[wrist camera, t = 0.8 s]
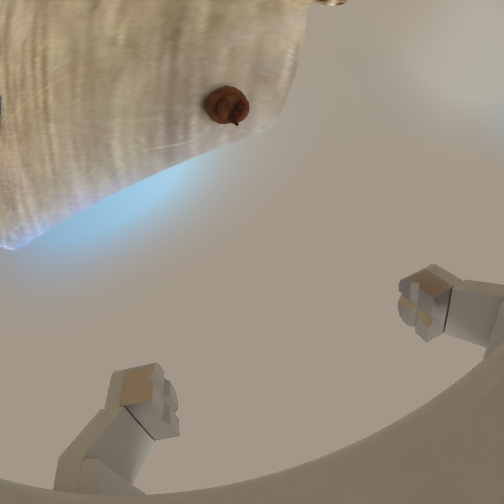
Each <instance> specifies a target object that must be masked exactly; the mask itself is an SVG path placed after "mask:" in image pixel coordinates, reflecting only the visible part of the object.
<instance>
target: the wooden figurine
mask: <svg viewBox="0 0 504 504" xmlns="http://www.w3.org/2000/svg"><path fill="white" fill-rule="evenodd" d="M205 110H206V112H207V114H208V115H209V117H210V118H211V119H212V120H213V121H215V122H217V123H219V124H227V123H233V124H235V125H236V126H238V125H239V124H238V122H240V121H242V120H244V119H245V117H246V116H247V115H248V113H249V102H248V101H247V99H246V97H245V96H244V94H243V93H242V92H241V91H240V90H238V89H236V88H235V87H229V86H225V87H223V88H220V89H218V90H217V91H215V92H214V93H212V94H211V95H210V96H209V97H208V99H207V100H206V101H205Z"/></svg>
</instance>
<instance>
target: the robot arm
mask: <svg viewBox="0 0 504 504" xmlns="http://www.w3.org/2000/svg"><path fill="white" fill-rule="evenodd" d="M399 291H400V293H401V294H402V295H401V297H400V299H399V301H398V311H399V314H400V317H401V318H402V320H403V321H404V322H405V323H406V324H407V325H410V326H414V327H415V332H416V333H417V334H418V335H419V336H420V337H421V338H422V339H423V340H425V341H426V342H428V341H430V340H432V339H433V338H435V337H437V336H438V335H440V334H442V333H443V332H444V334H447V335H450V336H453V337H456V338H459V339H462V340H465V341H468V342H471V343H474V344H477V345H480V346H483V347H486V351H485V354H484V356H483V361H482V362H481V363H479V364H478V365H477V366H476V367H475V368H473V369H472V370H471V371H470V372H468V373H467V374H466V375H465V376H463V377H462V378H461V379H459V380H458V381H457V382H455V383H454V384H453V385H452V386H450V387H449V388H447V389H446V390H445V391H443V392H442V393H440V394H439V395H437V396H436V397H435V398H433V399H432V400H430V401H429V402H427V403H426V404H424V405H422V406H421V407H419V408H418V409H416V410H415V411H413V412H411V413H410V414H408V415H407V416H405V417H403V418H401V419H399V420H398V421H396V422H394V423H393V424H391V425H389V426H387V427H385V428H383V429H381V430H380V431H378V432H376V433H374V434H372V435H370V436H368V437H366V438H364V439H362V440H360V441H358V442H355V443H353V444H351V445H349V446H347V447H344V448H342V449H340V450H337V451H335V452H333V453H330V454H328V455H325V456H323V457H320V458H318V459H315V460H313V461H310V462H307V463H304V464H301V465H298V466H296V467H293V468H289V469H286V470H283V471H280V472H277V473H273V474H270V475H266V476H262V477H259V478H255V479H251V480H247V481H243V482H238V483H234V484H229V485H224V486H219V487H213V488H207V489H201V490H194V491H186V492H178V493H169V494H168V493H167V494H153V495H146V494H145V493H144V492H143V491H141V490H140V489H138V488H137V487H135V486H133V485H132V484H133V482H134V480H135V478H136V477H137V475H138V473H139V471H140V469H141V467H142V465H143V464H144V462H145V460H146V458H147V456H148V454H149V452H150V450H151V449H152V447H153V445H154V443H155V440H161V439H166V438H171V437H176V436H179V435H180V434H179V419H178V417H177V416H176V415H175V412H176V411H177V409H178V400H177V396H176V392H175V390H174V388H173V386H172V384H171V382H170V381H169V380H166V379H164V371H163V370H162V368H161V366H160V365H159V364H158V363H153V364H148V365H144V366H138V367H133V368H129V369H124V370H119V371H115V372H114V373H113V374H112V376H111V381H110V386H109V390H108V394H107V399H106V404H105V409H102V410H100V411H99V412H98V413H97V414H96V416H95V417H94V418H93V419H92V420H91V421H90V422H89V424H88V425H87V426H86V427H85V428H84V429H83V430H82V431H81V433H80V434H79V435H78V436H77V437H76V438H75V440H74V441H73V442H72V443H71V444H70V445H69V446H68V447H67V449H66V450H65V451H64V452H63V453H62V454H61V456H60V457H59V460H58V465H57V470H56V476H55V481H54V488H53V490H49V489H43V488H38V487H33V486H28V485H24V484H19V483H15V482H11V481H8V480H4V479H0V504H504V285H501V284H493V283H486V282H479V281H471V280H465V281H463V280H461V279H459V278H458V277H456V276H454V275H453V274H451V273H449V272H447V271H446V270H444V269H442V268H440V267H439V266H437V265H433V264H431V265H429V266H427V267H426V268H423V269H422V270H420V271H418V272H416V273H414V274H412V275H410V276H408V277H405V278H403V279H401V280H400V283H399Z"/></svg>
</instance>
